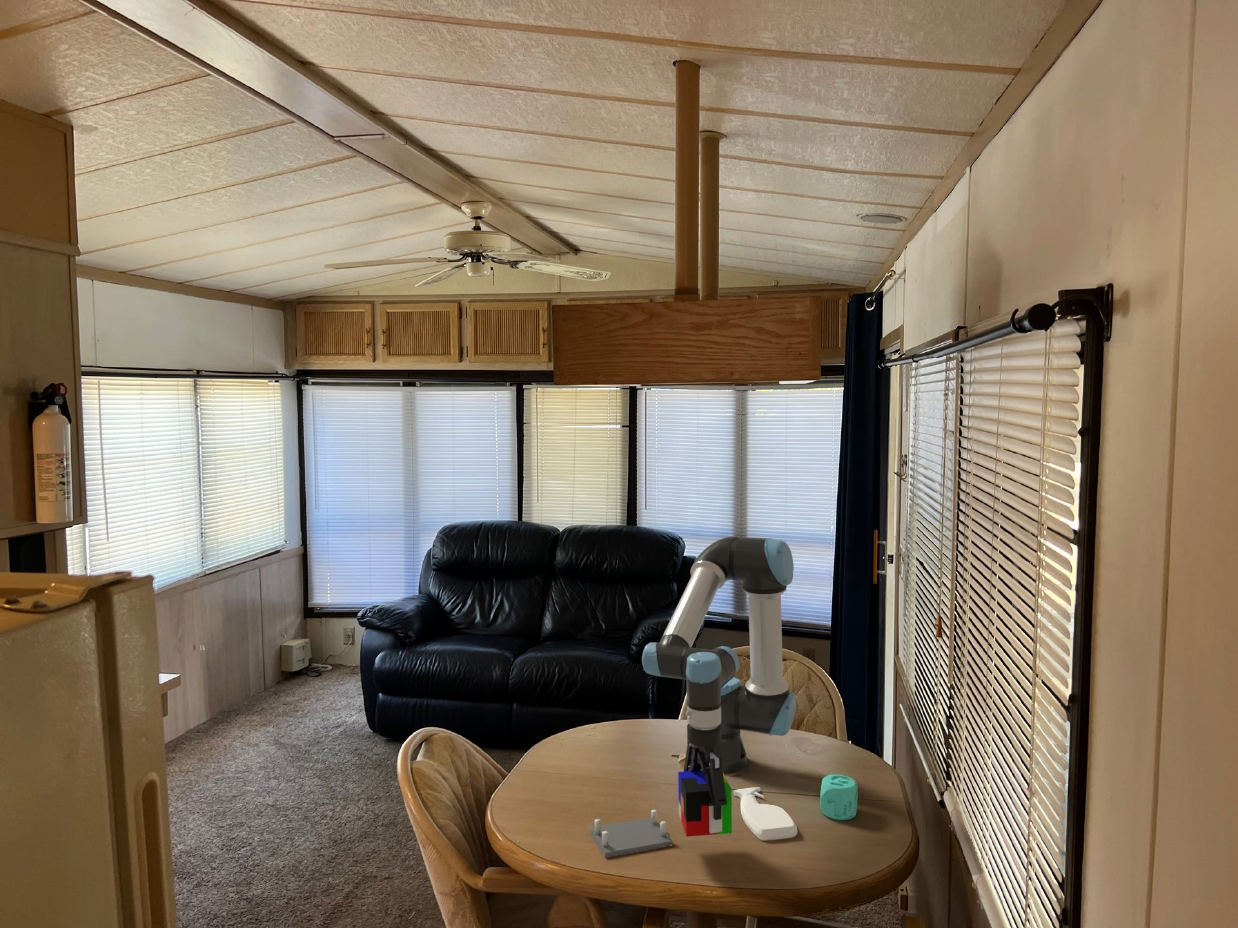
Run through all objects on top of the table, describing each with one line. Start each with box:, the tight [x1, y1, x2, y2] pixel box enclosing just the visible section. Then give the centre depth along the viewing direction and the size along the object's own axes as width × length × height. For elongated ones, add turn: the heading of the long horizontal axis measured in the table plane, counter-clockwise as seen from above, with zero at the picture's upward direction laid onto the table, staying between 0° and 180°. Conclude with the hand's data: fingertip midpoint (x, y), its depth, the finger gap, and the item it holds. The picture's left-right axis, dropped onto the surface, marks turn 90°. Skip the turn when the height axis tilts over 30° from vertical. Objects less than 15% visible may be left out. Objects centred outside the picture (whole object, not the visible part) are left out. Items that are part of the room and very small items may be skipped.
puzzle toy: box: [677, 769, 733, 838], centre depth 193 cm, size 10×10×10 cm
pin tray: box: [589, 809, 673, 859], centre depth 200 cm, size 16×12×4 cm
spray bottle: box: [732, 786, 798, 842], centre depth 211 cm, size 3×11×24 cm
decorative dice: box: [819, 774, 859, 821], centre depth 212 cm, size 8×8×8 cm
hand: (704, 819), depth 193 cm, fingers closed on puzzle toy, 11 cm apart
